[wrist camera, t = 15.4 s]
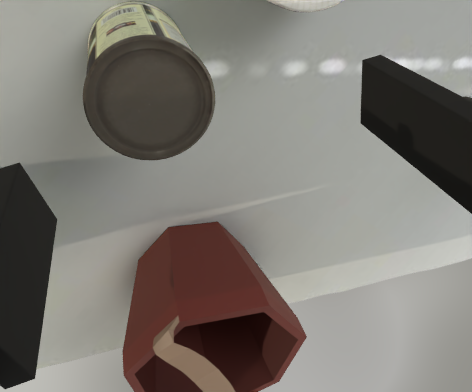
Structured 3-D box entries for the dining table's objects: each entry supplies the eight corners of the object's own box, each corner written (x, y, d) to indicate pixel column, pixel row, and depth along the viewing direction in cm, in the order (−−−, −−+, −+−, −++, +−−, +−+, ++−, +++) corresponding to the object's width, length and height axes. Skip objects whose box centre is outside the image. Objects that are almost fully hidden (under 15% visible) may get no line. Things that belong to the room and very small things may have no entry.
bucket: (100, 223, 53) (100, 403, 33) (252, 180, 56) (333, 324, 36) (148, 323, 68) (167, 487, 49) (266, 286, 71) (327, 426, 52)
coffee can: (145, 116, 45) (159, 180, 35) (66, 56, 39) (53, 111, 29) (205, 50, 43) (240, 98, 32) (130, -24, 37) (142, 3, 26)
